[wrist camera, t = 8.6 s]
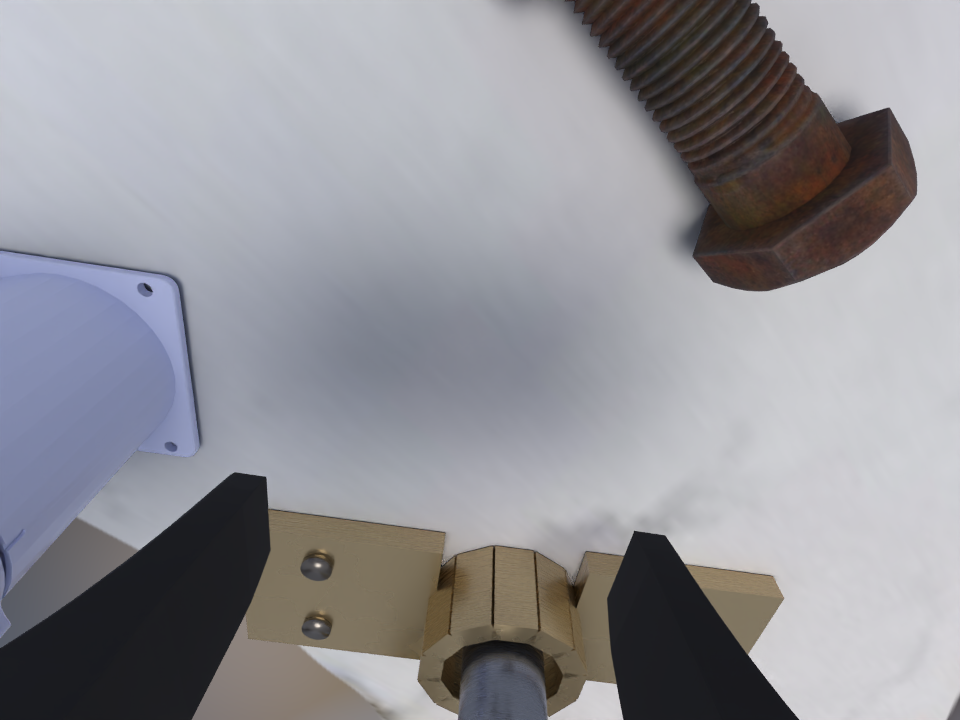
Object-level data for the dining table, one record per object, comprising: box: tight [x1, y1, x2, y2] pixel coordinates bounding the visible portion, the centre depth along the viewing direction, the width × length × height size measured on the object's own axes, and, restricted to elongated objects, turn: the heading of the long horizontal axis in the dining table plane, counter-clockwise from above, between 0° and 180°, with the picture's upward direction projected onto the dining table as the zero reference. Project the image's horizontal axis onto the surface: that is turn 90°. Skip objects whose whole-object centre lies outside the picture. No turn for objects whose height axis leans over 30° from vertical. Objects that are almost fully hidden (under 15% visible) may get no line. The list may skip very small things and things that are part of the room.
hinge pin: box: [458, 640, 548, 720], centre depth 24 cm, size 4×4×8 cm
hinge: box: [246, 509, 784, 717], centre depth 26 cm, size 25×8×4 cm, turn 81°
